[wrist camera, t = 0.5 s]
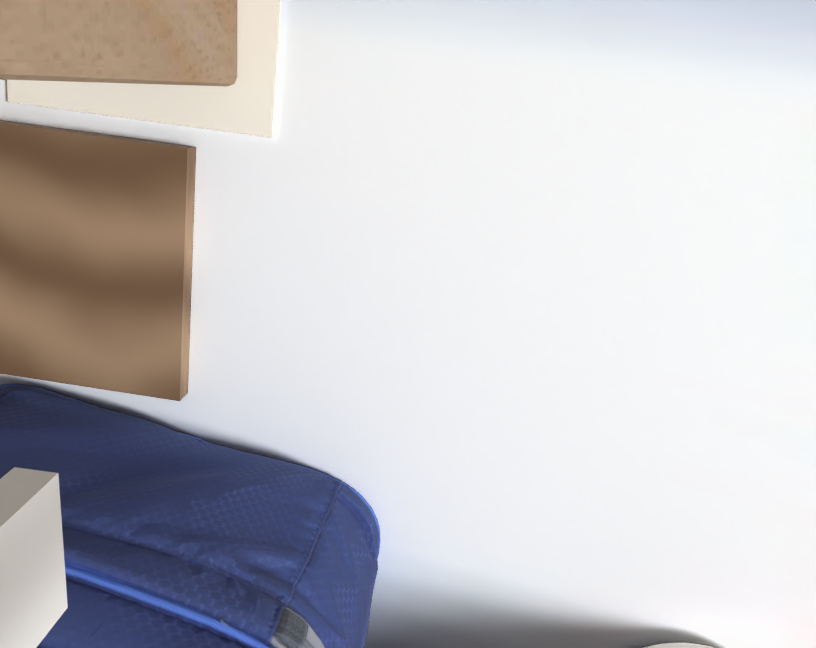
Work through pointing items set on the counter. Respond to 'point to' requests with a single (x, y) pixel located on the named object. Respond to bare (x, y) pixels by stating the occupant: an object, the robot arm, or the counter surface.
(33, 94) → the tile
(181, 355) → the board
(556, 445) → the counter surface
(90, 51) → the wooden block
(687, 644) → the supplement tub
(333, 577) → the lunch bag
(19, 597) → the robot arm
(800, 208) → the counter surface
